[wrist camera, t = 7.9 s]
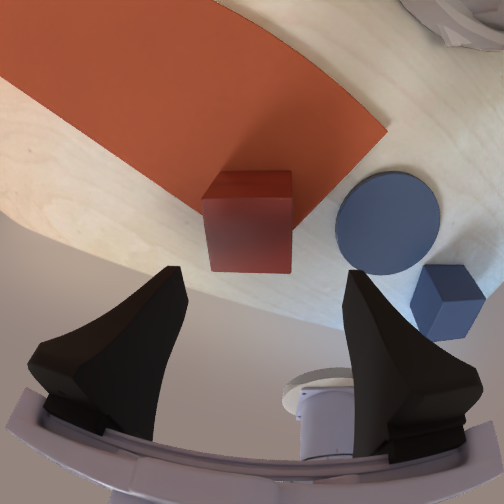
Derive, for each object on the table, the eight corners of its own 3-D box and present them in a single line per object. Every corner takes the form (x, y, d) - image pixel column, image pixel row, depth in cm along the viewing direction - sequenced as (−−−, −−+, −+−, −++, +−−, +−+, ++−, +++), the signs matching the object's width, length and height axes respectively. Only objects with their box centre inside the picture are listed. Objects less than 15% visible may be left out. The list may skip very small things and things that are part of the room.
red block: (290, 234, 19) (291, 274, 15) (225, 233, 20) (211, 272, 16) (291, 170, 17) (293, 197, 13) (219, 171, 17) (200, 198, 14)
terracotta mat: (385, 129, 15) (388, 131, 14) (265, 254, 21) (264, 259, 20) (11, -47, 5) (7, -47, 4) (-34, 50, 11) (-38, 51, 10)
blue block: (447, 303, 22) (464, 338, 18) (409, 305, 22) (423, 343, 18) (464, 264, 19) (486, 298, 16) (423, 264, 20) (443, 301, 16)
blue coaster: (423, 271, 20) (425, 275, 20) (329, 271, 21) (330, 275, 21) (447, 177, 16) (450, 179, 15) (339, 167, 17) (341, 169, 16)
